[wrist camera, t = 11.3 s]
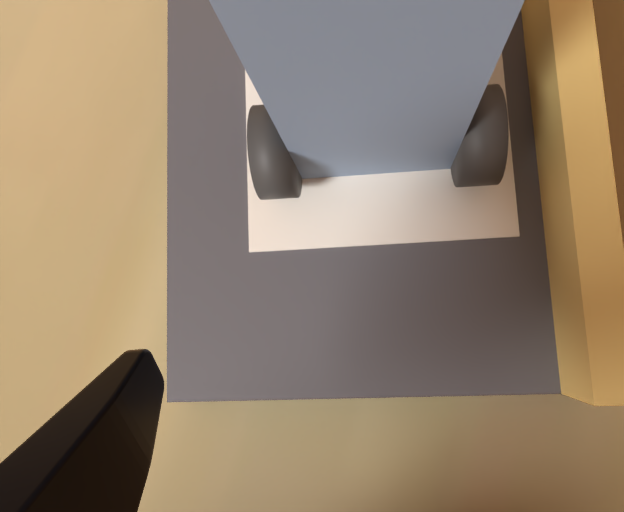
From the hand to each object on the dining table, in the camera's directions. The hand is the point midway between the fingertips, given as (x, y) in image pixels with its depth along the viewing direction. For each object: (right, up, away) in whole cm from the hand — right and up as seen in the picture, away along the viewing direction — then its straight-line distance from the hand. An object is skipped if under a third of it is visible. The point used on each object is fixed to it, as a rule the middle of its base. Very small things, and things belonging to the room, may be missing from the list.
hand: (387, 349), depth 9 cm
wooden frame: (+1, +6, +11) cm, 12 cm away
